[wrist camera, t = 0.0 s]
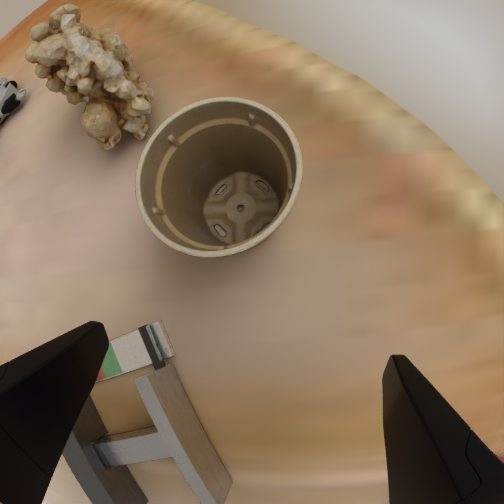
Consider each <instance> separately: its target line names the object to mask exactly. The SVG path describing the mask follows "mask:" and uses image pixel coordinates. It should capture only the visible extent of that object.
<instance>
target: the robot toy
mask: <svg viewBox="0 0 504 504" xmlns="http://www.w3.org/2000/svg"><path fill="white" fill-rule="evenodd" d="M25 96H26V89H24V88H22V89H21V90H19V91H18V90H17V83H16V82H15V81H9V82H8V81H7V78H6V77H4V78H2V79H0V123H1V122H2V121H3V120H4V118H5V117H6V116H7V115H9V114H10V113H11V112H12V111H13V110H14V109H15V108H17V107H18V106H19V105H20V100H22V99H23V98H24V97H25Z"/></svg>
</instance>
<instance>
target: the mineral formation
mask: <svg viewBox="0 0 504 504" xmlns="http://www.w3.org/2000/svg"><path fill="white" fill-rule="evenodd" d="M80 16H81V13H80V8H79V7H78V6H76V5H73V4H66V5H63V6H60V7H59V8H57V9H56V10H55V11H53V12H52V13H51V15H50V17H49V25H48V24H47V23H45V22H41V23H39V24H37V25H36V26H34V27H32V28H31V33H30V37H31V38H32V40H34V41H36V43H34V44H32V45H31V46H30V47H29V48H28V49H27V51H26V53H25V58H26V60H27V61H29V62H31V63H38V65H37V66H36V67H35V73H36V75H37V77H39V78H41V79H43V78H48V82H47V84H46V87H47V88H48V89H49V90H50V91H53V92H56V93H57V92H62V94H63V95H67V101H68V103H71V104H74V105H76V104H77V103H79V102H87V103H88V104H87V106H86V108H85V111H84V112H83V113H82V119H81V124H82V127H83V129H84V130H85V132H86V133H87V135H88V136H90V137H92V138H95V139H97V141H98V142H99V145H100V147H101V148H103V149H104V150H110V149H112V148H113V147H114V146H115V144H116V143H117V142H119V141H120V139H121V131H122V130H123V129H124V130H126V131H128V132H132V134H133V136H134V137H135V138H137V139H138V140H142V139H143V138H144V137H145V135H146V132H147V130H148V124H147V123H146V121H145V120H146V116H145V114H150V113H151V108H152V106H151V104H150V101H152V100H153V99H154V93H153V89H151V88H149V87H148V86H147V84H146V82H138V79H139V77H140V76H139V74H138V73H137V72H136V71H134V67H133V62H132V61H133V56H132V55H131V54H130V51H129V50H128V48H127V47H126V45H125V42H124V40H123V39H122V38H121V37H120V36H117V35H116V31H115V30H114V29H110V28H104V29H102V30H99V31H97V30H94V29H93V28H91V27H86V26H85V24H81V23H80V22H79V20H80Z"/></svg>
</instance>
